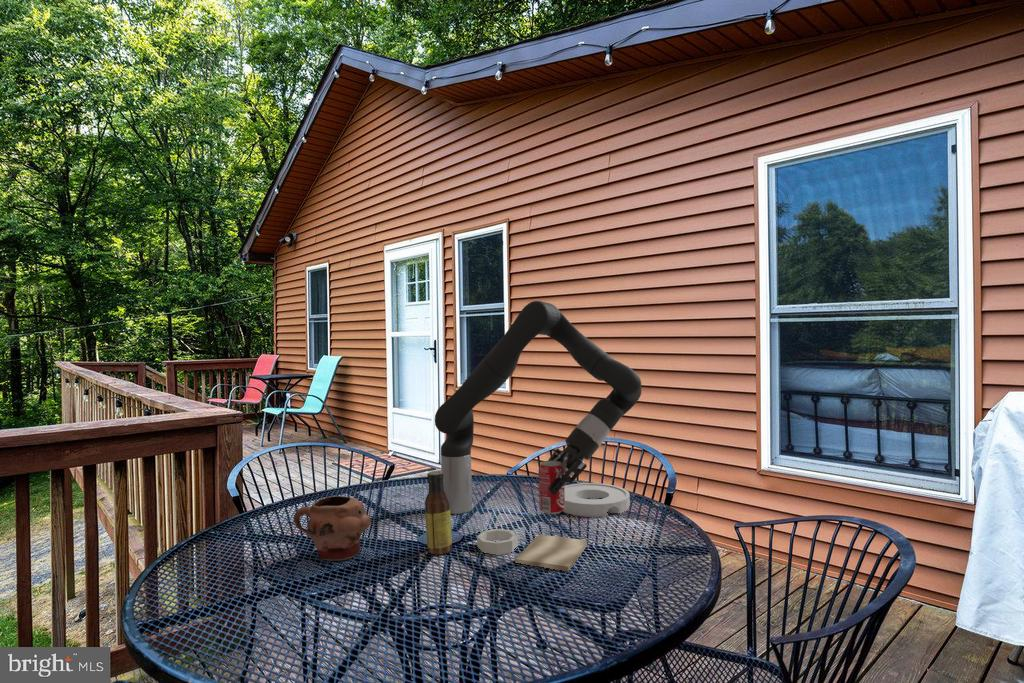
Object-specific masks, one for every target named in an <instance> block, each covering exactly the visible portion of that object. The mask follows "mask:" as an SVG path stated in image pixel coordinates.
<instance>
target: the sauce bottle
mask: <svg viewBox="0 0 1024 683" xmlns="http://www.w3.org/2000/svg"><path fill="white" fill-rule="evenodd" d="M443 478H444V474H443V472H441V471H440V470H433V471H429V472H427V480H428V493H427V495H426V497H425V500H424V506H425V510H424V512H425V513H424V514H425V517H424V518H425V531H426V533H425V534H426V547H427V552H428V554H432V555H434V556H441V555H445V554H449V553H450V552H451V551H452V548H453V547H452V543H453V537H452V536H453V534H452V518H451V514H450V505H449V502H448V499H447V497H446V494H445V491H444V485H443Z"/></svg>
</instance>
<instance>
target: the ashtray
mask: <svg viewBox="0 0 1024 683" xmlns="http://www.w3.org/2000/svg"><path fill="white" fill-rule="evenodd" d="M564 491H565V509H564V510H563V511H562V512H563V513H565V514H569V515H572V516H580V517H586V518H587V517H588V518H589V517H590V518H598V517H599V518H600V517H602V518H604V517H608V516H609V514H613V513H618V514H617V515H620V514H619V513H621V514H623V513H625V512H627V511H628V510H629V509H630V508H629V506H630V505H631V502H630V500H631V499H630V498H631V496H630V492H629V491H628V490H627V489H625V488H623V487H620V486H618V485H612V484H608V483H600V482H599V483H598V482H597V483H596V482H580V483H571V484H567V485H566V484H565V485H564ZM586 498H603V499H586ZM628 508H629V509H628ZM627 509H628V510H627ZM626 510H627V511H626ZM624 511H625V512H624ZM607 512H608V513H607ZM622 512H623V513H622Z"/></svg>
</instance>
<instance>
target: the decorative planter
mask: <svg viewBox="0 0 1024 683" xmlns="http://www.w3.org/2000/svg"><path fill="white" fill-rule="evenodd" d="M302 516H306V517H308V522H307V525H306V526H307V527H306V528H307V529H306V528H304V527H303V526H302V525H301V523H300V520H301V517H302ZM292 519H293V523H294V526H295V528H297V529H298V530H300V531H301V532H303V533H305V535H306V536H308V537H309V538H310V539H311V540H312V541H313V543H314V545H315V548H316V551H317V555H318V558H319V559H321V560H324V561H332V562H333V561H345V560H348V559H352V558H354V557H355V556H357V555H358V554H359V553H360V550H361V538H360V537H361V535H362V533H363V532H364V531H366V530H367V529H369V527H370V526H371V524H372V519H371V517H370V516H369V515H368V514H367V513H366V510H365V506H364V504H363V502H361V501H360V500H358V499H357V498H355V497H352V496H351V497H350V496H343V495H342V496H341V495H335V496H334V495H333V496H332V495H331V496H327V497H324V498H321V499H318V500H316V501H314V503H313V504H311V506H303V507H299V509H296V511H295V512H294V514H293V517H292Z"/></svg>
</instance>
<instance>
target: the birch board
mask: <svg viewBox="0 0 1024 683" xmlns="http://www.w3.org/2000/svg"><path fill="white" fill-rule="evenodd" d="M587 546H588V540H587V539H579V538H578V539H577V538H569V537H561V536H556V535H555V536H553V535H546V534H538V535H537V536H536V537H535V538H534V539H533V540H532V541H531V542H530V543H529V544H528V545H527V546H526V547H525V548H524V549H523V551H521V552H520V553H519V555H518V556H517V557H516V558H515V559H514V562H515V563H521V564H527V565H532V566H539V567H544V568H543V569H546V568H550V569H549V570H553V569H555V570H556V571H560V570H562V571H561V572H567V571H569V572H570V570H571V568H573V566H574V564H575V563H577V560H578V559H579V558H580V556H581V554H582V553H583V552H584V550H585V549H586V548H587ZM532 566H531V567H532ZM539 567H538V568H539ZM555 570H554V571H555Z"/></svg>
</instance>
